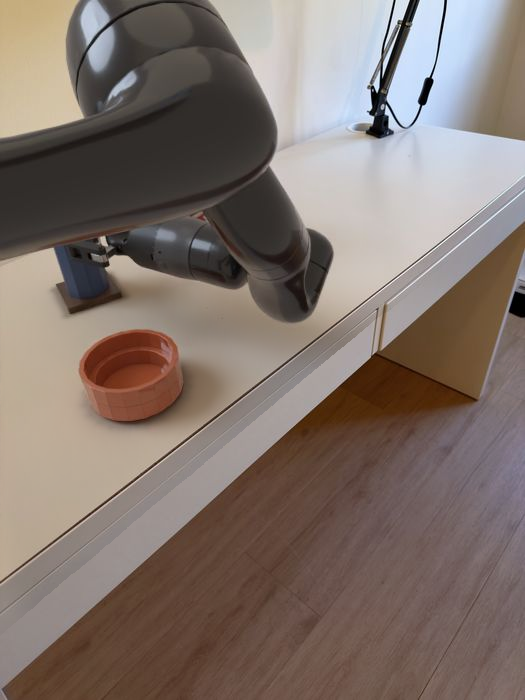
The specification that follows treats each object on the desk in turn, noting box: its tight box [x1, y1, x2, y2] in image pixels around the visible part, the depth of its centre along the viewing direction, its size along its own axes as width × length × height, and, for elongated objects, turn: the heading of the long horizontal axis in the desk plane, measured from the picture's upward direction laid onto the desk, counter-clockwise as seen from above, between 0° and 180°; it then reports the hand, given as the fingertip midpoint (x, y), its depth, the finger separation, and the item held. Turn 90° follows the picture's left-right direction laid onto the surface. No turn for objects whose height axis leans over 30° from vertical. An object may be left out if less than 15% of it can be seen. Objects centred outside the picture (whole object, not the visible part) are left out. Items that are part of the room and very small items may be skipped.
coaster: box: [55, 268, 123, 315], centre depth 81 cm, size 8×8×1 cm
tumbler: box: [53, 239, 109, 299], centre depth 77 cm, size 6×6×12 cm
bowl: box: [78, 328, 185, 422], centre depth 62 cm, size 11×11×5 cm
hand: (81, 221), depth 72 cm, fingers open, 8 cm apart
